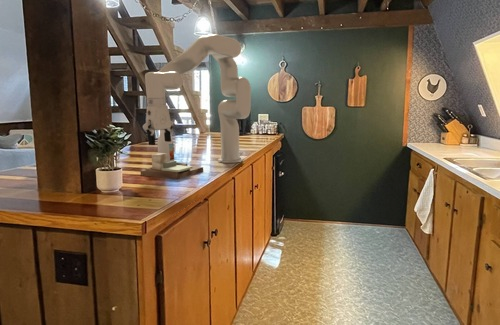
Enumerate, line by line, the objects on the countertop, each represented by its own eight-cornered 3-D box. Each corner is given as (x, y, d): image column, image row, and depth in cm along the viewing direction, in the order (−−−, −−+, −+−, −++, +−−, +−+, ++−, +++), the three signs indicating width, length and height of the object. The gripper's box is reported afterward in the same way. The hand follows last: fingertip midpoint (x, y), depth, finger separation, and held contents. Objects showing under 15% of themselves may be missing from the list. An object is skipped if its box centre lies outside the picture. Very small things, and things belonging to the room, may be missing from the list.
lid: (176, 166, 156) (175, 160, 155) (192, 168, 151) (192, 161, 151) (161, 170, 148) (161, 163, 148) (178, 172, 144) (178, 165, 143)
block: (159, 168, 158) (158, 152, 156) (167, 169, 156) (166, 153, 154) (152, 170, 154) (151, 154, 153) (160, 171, 152) (159, 154, 150)
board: (169, 168, 170) (168, 161, 169) (203, 171, 160) (203, 165, 160) (140, 174, 154) (140, 168, 154) (176, 179, 145) (176, 172, 144)
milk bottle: (165, 166, 173) (163, 125, 170) (155, 165, 178) (153, 124, 174) (177, 164, 179) (175, 124, 176) (167, 163, 184) (165, 123, 180)
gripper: (148, 103, 141) (152, 146, 144) (177, 101, 155) (180, 140, 159) (134, 103, 144) (138, 145, 148) (164, 101, 159) (167, 140, 162)
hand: (160, 143), depth 153 cm, fingers open, 9 cm apart
